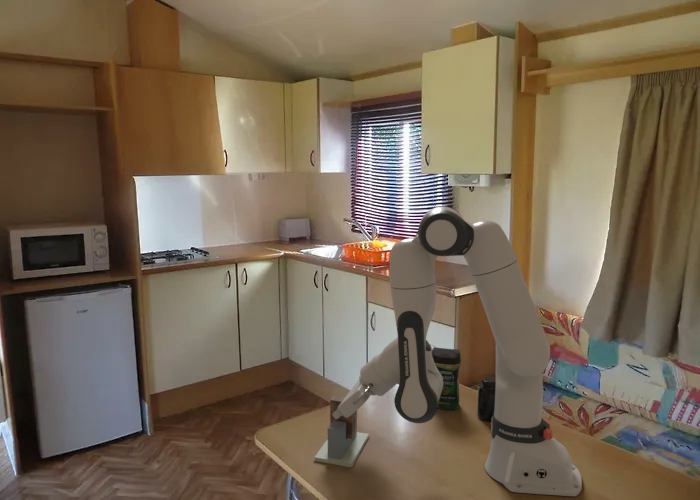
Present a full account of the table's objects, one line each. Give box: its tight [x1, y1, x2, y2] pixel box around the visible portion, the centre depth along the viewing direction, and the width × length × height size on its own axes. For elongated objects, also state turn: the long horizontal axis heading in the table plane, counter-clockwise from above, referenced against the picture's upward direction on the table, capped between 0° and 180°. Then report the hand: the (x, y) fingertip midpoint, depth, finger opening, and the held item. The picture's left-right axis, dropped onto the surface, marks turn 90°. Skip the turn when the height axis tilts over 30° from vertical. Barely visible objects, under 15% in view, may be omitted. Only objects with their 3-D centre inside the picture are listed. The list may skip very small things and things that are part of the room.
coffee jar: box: [432, 347, 462, 411], centre depth 170 cm, size 10×8×19 cm
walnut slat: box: [329, 395, 355, 439], centre depth 144 cm, size 6×3×10 cm, turn 72°
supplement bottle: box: [476, 376, 496, 423], centre depth 162 cm, size 7×7×12 cm
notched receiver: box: [314, 410, 370, 468], centre depth 144 cm, size 10×16×9 cm, turn 162°
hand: (340, 408), depth 143 cm, fingers open, 8 cm apart
